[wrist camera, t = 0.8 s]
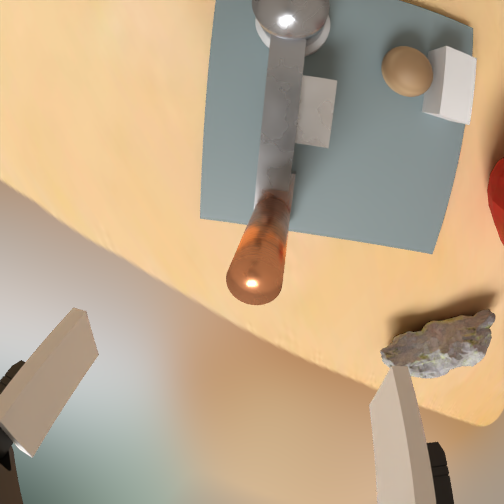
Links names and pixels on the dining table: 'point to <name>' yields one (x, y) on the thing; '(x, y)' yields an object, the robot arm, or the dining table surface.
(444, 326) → the mineral specimen
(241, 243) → the lever
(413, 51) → the light brown ball
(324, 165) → the board
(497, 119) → the dining table surface
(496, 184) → the apple
